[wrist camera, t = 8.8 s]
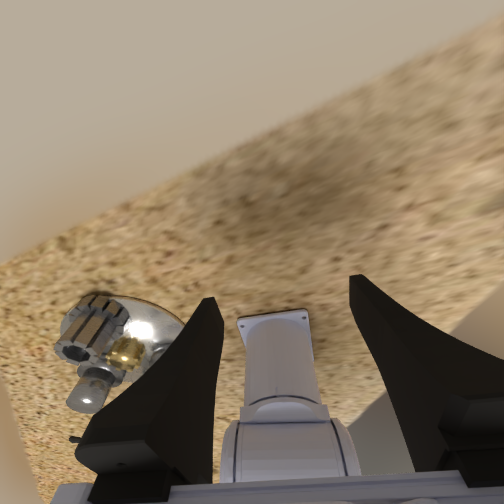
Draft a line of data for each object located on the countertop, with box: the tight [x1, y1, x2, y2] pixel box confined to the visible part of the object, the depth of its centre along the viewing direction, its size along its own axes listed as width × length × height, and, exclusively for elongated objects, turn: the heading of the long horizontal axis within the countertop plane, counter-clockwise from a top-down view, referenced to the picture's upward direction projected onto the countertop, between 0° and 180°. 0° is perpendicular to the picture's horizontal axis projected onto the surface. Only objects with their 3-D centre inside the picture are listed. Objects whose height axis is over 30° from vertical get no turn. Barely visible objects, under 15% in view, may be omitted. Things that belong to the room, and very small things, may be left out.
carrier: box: [60, 296, 185, 414], centre depth 28 cm, size 16×16×6 cm
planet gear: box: [54, 295, 130, 366], centre depth 25 cm, size 6×6×5 cm
